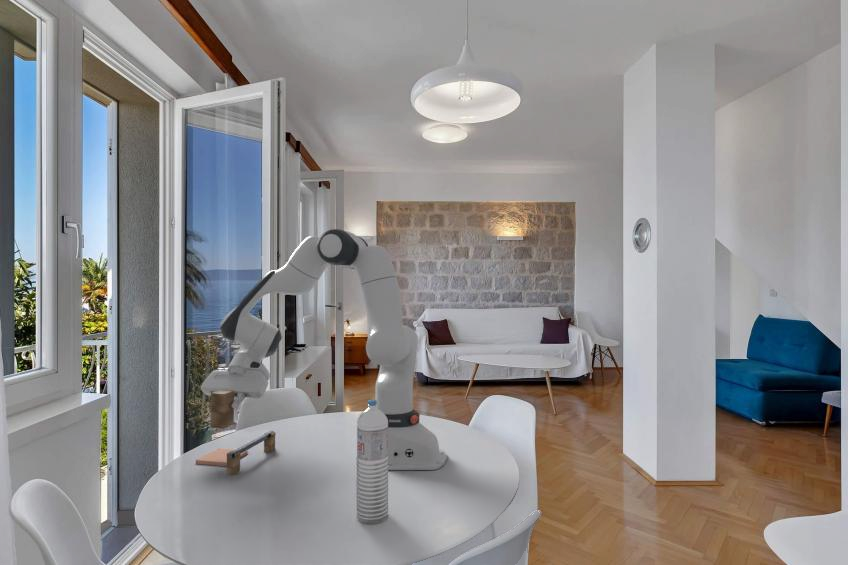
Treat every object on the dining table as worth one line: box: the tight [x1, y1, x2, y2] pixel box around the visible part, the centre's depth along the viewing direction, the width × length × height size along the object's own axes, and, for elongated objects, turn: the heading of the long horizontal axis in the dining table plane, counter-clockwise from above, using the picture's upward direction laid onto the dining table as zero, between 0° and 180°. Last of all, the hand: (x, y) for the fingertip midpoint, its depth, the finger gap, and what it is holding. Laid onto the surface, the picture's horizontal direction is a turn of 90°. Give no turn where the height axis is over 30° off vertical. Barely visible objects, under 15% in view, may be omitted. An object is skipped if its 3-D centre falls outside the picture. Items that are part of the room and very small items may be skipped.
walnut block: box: [210, 390, 235, 429], centre depth 132 cm, size 4×4×10 cm
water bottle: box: [356, 399, 389, 525], centre depth 97 cm, size 7×7×25 cm
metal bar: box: [228, 430, 275, 459], centre depth 130 cm, size 1×21×1 cm, turn 168°
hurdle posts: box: [226, 431, 276, 476], centre depth 130 cm, size 3×20×5 cm, turn 168°
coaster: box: [195, 448, 248, 467], centre depth 132 cm, size 10×10×1 cm
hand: (222, 407), depth 133 cm, fingers closed on walnut block, 4 cm apart
